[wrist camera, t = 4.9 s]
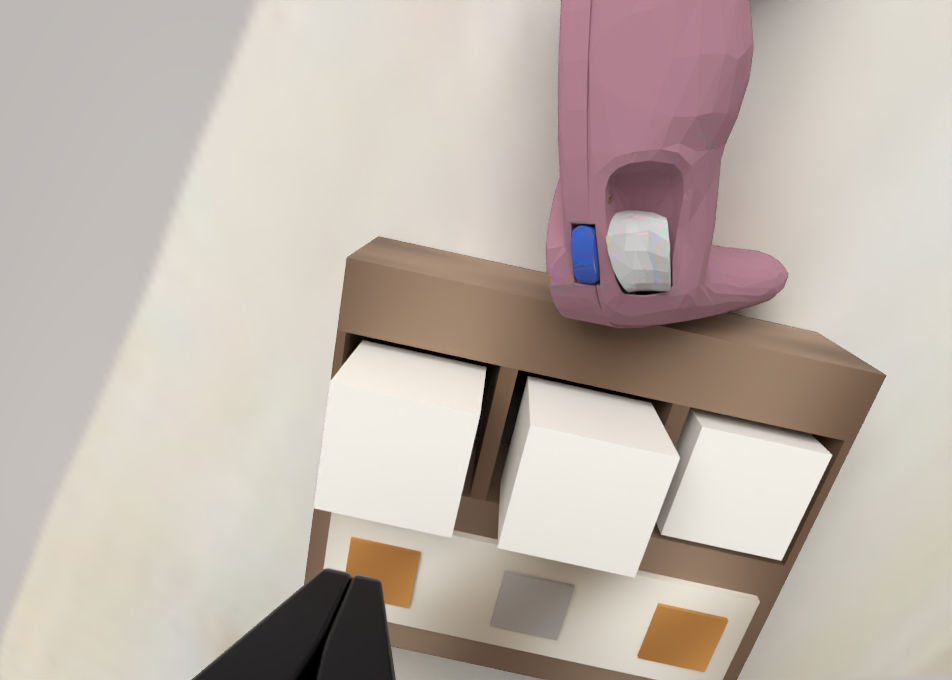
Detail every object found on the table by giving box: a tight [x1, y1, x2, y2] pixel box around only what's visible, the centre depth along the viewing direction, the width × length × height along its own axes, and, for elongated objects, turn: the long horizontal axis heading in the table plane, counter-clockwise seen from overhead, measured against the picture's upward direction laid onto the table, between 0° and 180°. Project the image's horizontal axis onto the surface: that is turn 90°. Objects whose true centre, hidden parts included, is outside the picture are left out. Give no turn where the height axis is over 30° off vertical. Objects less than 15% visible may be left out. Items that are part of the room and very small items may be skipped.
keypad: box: [304, 237, 886, 680], centre depth 15 cm, size 12×11×3 cm
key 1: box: [314, 340, 487, 538], centre depth 13 cm, size 3×3×2 cm
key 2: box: [656, 407, 832, 561], centre depth 14 cm, size 3×3×2 cm
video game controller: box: [546, 0, 788, 328], centre depth 11 cm, size 10×5×7 cm, turn 1°
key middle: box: [497, 376, 680, 578], centre depth 13 cm, size 3×3×2 cm
